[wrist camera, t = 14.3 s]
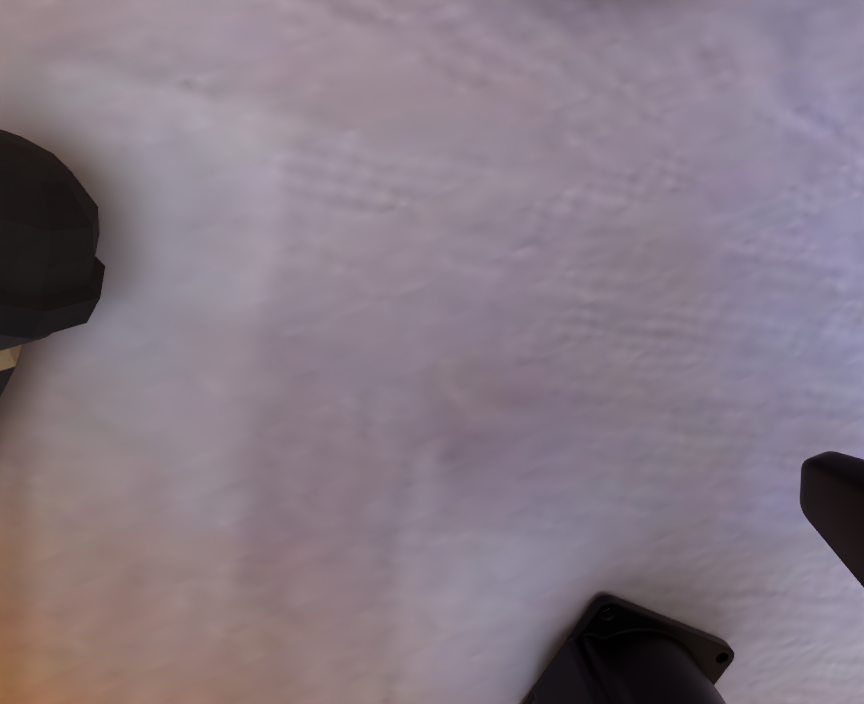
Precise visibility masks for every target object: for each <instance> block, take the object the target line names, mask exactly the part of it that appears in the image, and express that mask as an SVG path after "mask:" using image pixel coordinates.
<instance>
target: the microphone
mask: <svg viewBox="0 0 864 704" xmlns="http://www.w3.org/2000/svg"><path fill="white" fill-rule="evenodd" d="M98 237H99V224H98V206H97V205H96V204H95V202H94V201H93V200H92V199H91V197H90V196H89V195H88V193H87V192H86V191H85V189H84V188H83V187H82V185H81V184H80V183H79V181H78V180H77V179H76V177H75V176H74V175H73V173H72V172H71V171H70V170H69V169H68V168H67V167H66V166H65V165H64V164H63V163H62V162H61V161H60V160H59V159H58V158H57V157H56V156H55V155H54V154H52V153H50V152H49V151H47V150H45V149H43V148H41V147H39V146H38V145H36V144H34V143H32V142H30V141H28V140H26V139H25V138H23V137H21V136H18V135H15V134H12V133H9V132H6V131H3V130H0V396H1V394H2V392H3V390H4V388H5V386H6V384H7V382H8V380H9V378H10V376H11V374H12V372H13V370H14V368H15V366H16V363H17V360H18V357H19V353H20V350H21V347H22V344H25V343H28V342H32V341H35V340H38V339H42V338H45V337H47V336H49V335H50V334H52V333H54V332H57V331H60V330H64V329H67V328H70V327H74V326H77V325H80V324H84V323H87V321H88V319H89V317H90V316H91V314H92V312H93V310H94V308H95V306H96V304H97V303H98V301H99V299H100V295H101V289H102V282H103V276H104V270H105V266H104V264H103V263H102V262H101V261H100V260H99V259H98V258H97V257H96V256H95V253H96V248H97V242H98Z"/></svg>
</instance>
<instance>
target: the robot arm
mask: <svg viewBox="0 0 864 704" xmlns="http://www.w3.org/2000/svg"><path fill="white" fill-rule="evenodd" d="M800 505H801V508H802V511H803V513H804V515H805V516H806V518H807V519H808V520H809V522H810V523H811V524H812V525H813V526H814V528H815V529H816V530H817V531H818V533H819V534H820V535H821V536H822V537H823V539H824V540H825V541H826V542H827V543H828V545H829V546H830V547H831V548H832V549H833V551H834V552H835V553H836V554H837V556H838V557H839V558H840V559H841V560H842V562H843V563H844V564H845V565H846V566H847V568H848V569H849V570H850V571H851V573H852V574H853V575H854V576H855V577H856V579H857V580H858V581H859V582H860V583H861V585H862V586H863V587H864V460H863V459H860V458H856V457H852V456H849V455H845V454H842V453H838V452H833V451H828V452H824V453H821V454H819V455H816V456H814V457H811V458H809V459H807V460H805V461H804V463H803V464H802V468H801V486H800ZM608 607H610V608H609V609H608V610H607V611H604V612H603V610H604V609H605V608H608ZM733 658H734V652H733V650H732V649H731V648H730V646H729V645H728V644H727V643H726V642H725V641H724V640H721V639H719V638H716V637H714V636H711V635H709V634H706V633H704V632H701V631H699V630H696V629H694V628H691V627H689V626H686V625H684V624H681V623H679V622H676V621H674V620H671V619H669V618H666V617H664V616H661V615H659V614H656V613H654V612H651V611H649V610H646V609H644V608H641V607H639V606H636V605H634V604H631V603H629V602H626V601H624V600H621V599H619V598H616V597H614V596H611V595H601V596H599V597H597V598H596V599H595V600H594V601H593V603H592V604H591V605H590V607H589V608H588V610H587V611H586V613H585V614H584V616H583V617H582V619H581V620H580V622H579V623H578V624H577V626H576V627H575V629H574V630H573V632H572V633H571V635H570V636H569V638H568V639H567V641H566V642H565V643H564V645H563V646H562V648H561V649H560V651H559V652H558V654H557V655H556V657H555V658H554V660H553V661H552V662H551V664H550V665H549V667H548V668H547V670H546V671H545V673H544V674H543V676H542V677H541V679H540V680H539V681H538V683H537V684H536V686H535V687H534V689H533V690H532V692H531V693H530V695H529V696H528V697H527V699H526V700H525V702H524V703H523V704H726V703H725V701H724V700H723V698H722V697H721V695H720V694H719V692H718V691H717V689H716V688H715V686H714V684H715V683H716V682H717V680H718V679H719V678H720V677H721V675H722V674H723V673H724V671H725V670H726V669H727V667H728V666H729V665H730V663H731V662H732V660H733Z"/></svg>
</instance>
